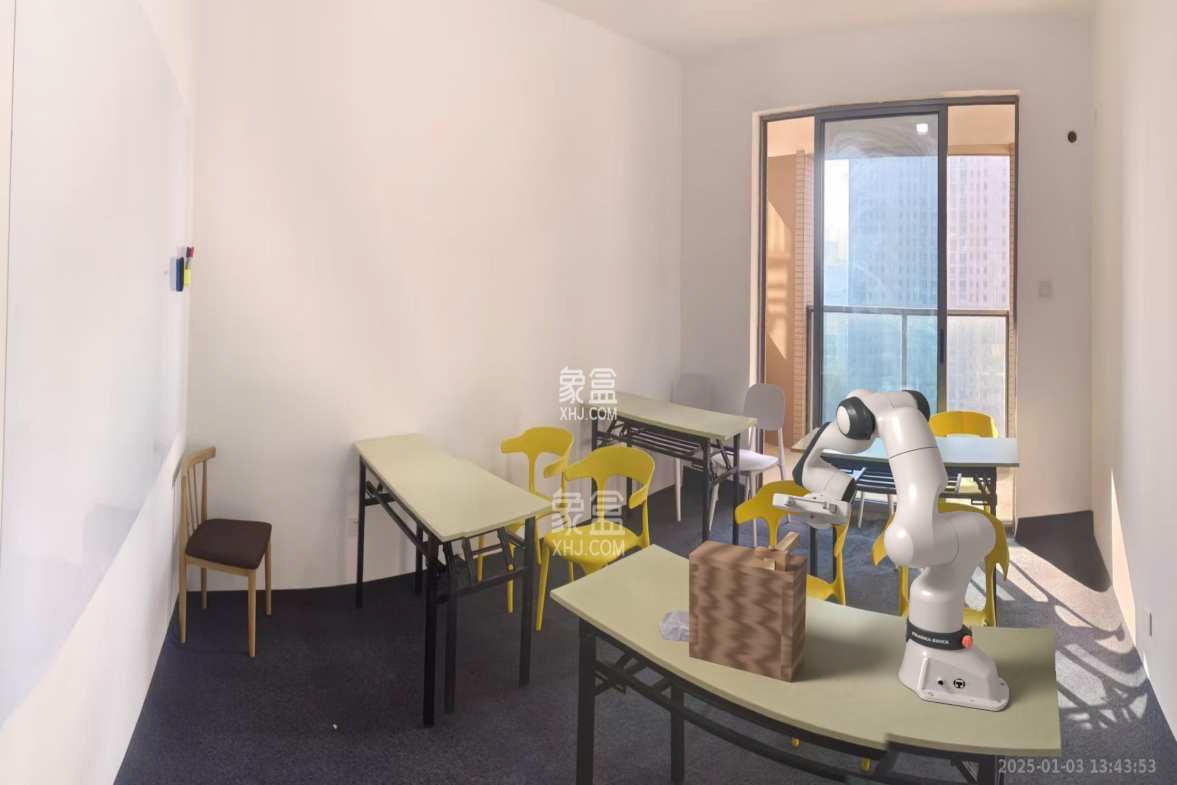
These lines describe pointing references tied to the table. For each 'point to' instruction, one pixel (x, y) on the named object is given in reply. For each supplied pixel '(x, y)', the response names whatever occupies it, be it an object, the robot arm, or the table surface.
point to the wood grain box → (746, 611)
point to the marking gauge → (777, 553)
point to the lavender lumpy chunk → (675, 626)
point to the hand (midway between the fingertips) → (807, 502)
